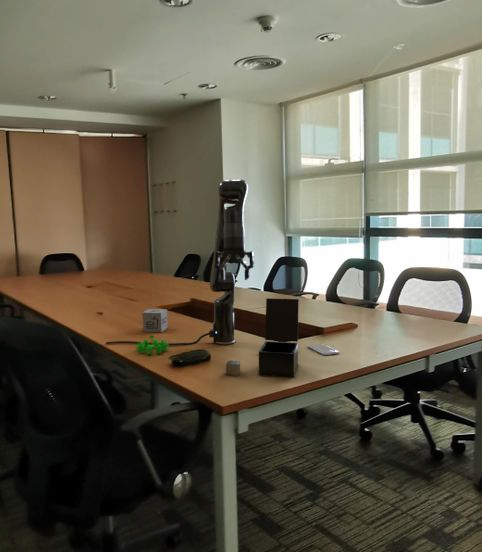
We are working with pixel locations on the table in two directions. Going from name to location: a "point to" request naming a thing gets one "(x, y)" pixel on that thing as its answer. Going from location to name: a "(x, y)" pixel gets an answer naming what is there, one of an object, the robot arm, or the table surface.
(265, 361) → the black open box
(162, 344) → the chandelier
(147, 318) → the icon cube
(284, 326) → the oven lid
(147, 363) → the table surface
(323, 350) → the mobile phone
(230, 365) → the steel block
